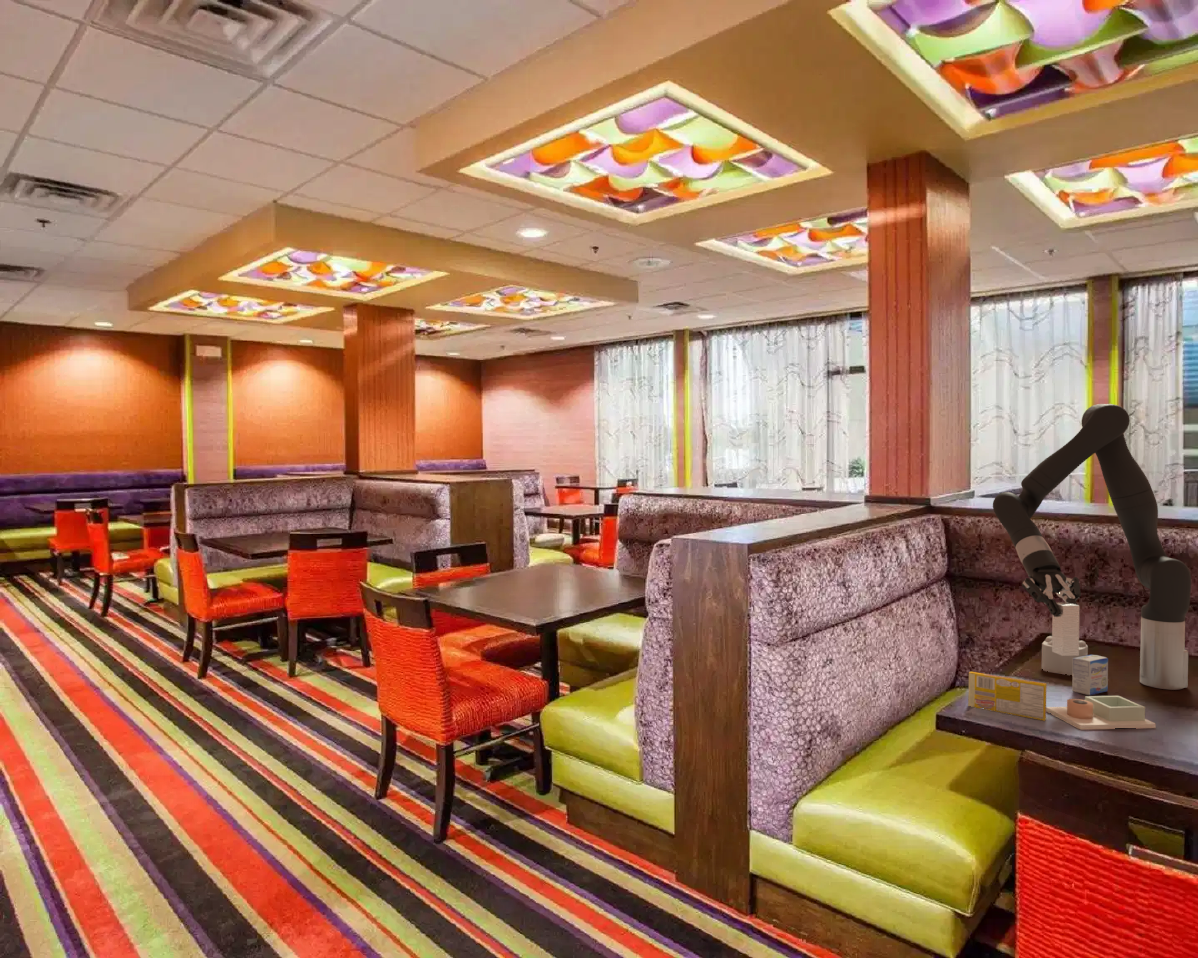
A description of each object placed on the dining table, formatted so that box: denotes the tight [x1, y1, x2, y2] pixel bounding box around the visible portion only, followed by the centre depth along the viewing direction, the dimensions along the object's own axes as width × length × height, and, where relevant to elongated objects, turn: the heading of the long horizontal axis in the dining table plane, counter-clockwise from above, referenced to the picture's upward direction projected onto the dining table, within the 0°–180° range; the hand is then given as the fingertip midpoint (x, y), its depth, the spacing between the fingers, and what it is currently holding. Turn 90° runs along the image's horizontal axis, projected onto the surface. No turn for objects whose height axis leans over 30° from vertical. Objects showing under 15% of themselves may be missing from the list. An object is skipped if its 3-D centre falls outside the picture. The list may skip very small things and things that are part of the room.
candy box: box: [967, 671, 1048, 722], centre depth 180 cm, size 16×2×8 cm, turn 50°
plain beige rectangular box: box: [1051, 601, 1080, 656], centre depth 187 cm, size 4×4×12 cm
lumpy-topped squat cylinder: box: [1041, 635, 1089, 676], centre depth 216 cm, size 10×13×9 cm
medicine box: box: [1071, 654, 1109, 696], centre depth 196 cm, size 8×4×9 cm, turn 117°
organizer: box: [1046, 695, 1157, 731], centre depth 175 cm, size 17×12×4 cm
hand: (1067, 614), depth 187 cm, fingers closed on plain beige rectangular box, 4 cm apart
